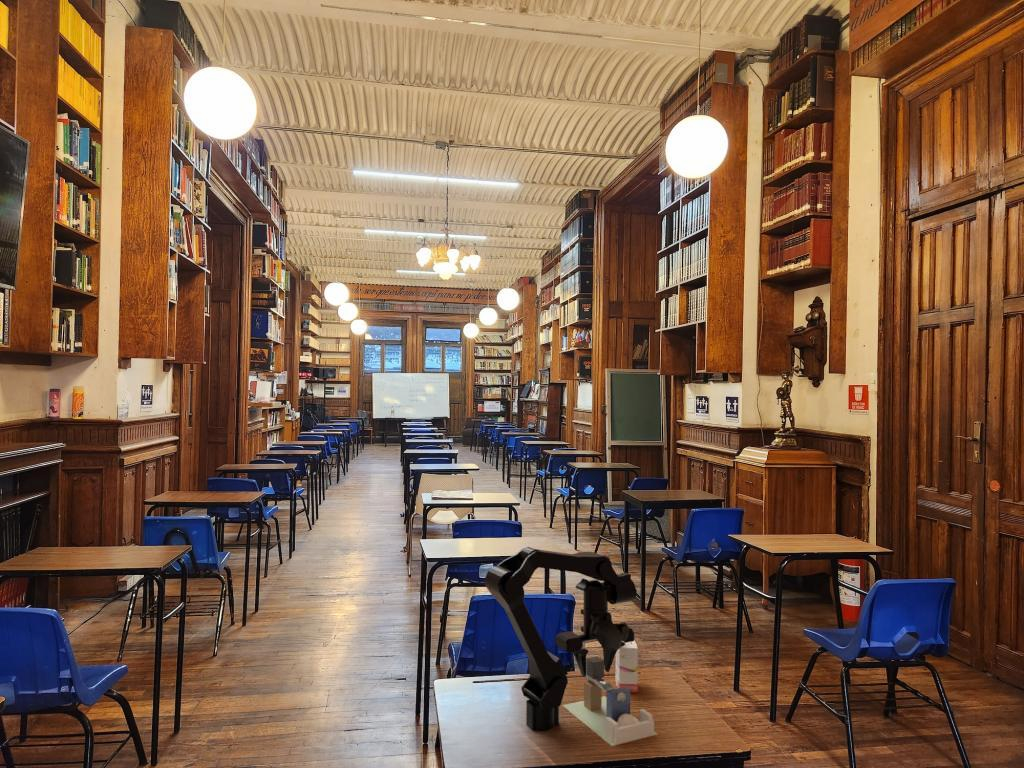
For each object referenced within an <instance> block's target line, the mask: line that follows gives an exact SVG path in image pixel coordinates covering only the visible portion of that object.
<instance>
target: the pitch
mask: <svg viewBox="0 0 1024 768" xmlns="http://www.w3.org/2000/svg"><path fill="white" fill-rule="evenodd" d="M602 691H603V690H602V689H601V688H599V687H598V686H596V685H595V684H594V683H592V682H591V681H589V680H585V681H583V700H581V701H576V702H572V703H571V702H570V703H567V704H561V706H562V707H564V708H565V709H566V710H567V711H568V712H570V713H571V714H572V715H573V716H574V717H576V719H578V720H580V722H582V723H583V724H584V725H585V726H586V727H588V728H589V729H590V730H591V731H593V732H594V733H595V734H596V735H598V736H599V737H600V738H601V739H602V740H604V741H605V742H606V743H607V744H608V745H610V746H611V747H615V746H618V745H619V744H617V745H615V744H614V743H613V742H612V741H610V740H609V739H608V738H607V737H605V718H606V696H605V695H603V696H602V693H603V692H602ZM630 715H631V714H630ZM631 716H632V717H633V718H634V720H635V723H637V722H639V719H638V718H636V717H635V716H633V715H631ZM658 735H659V734H658V733H657V732H656V731H654V735H653V736H658ZM653 736H652V737H653ZM650 737H651V736H649V737H648V738H650ZM645 738H647V737H645ZM645 738H644V739H645ZM641 739H643V738H641ZM641 739H640V740H641ZM637 740H639V739H637ZM637 740H636V741H637ZM634 741H635V740H633V741H632V742H634ZM629 742H631V741H629ZM629 742H628V743H629ZM626 743H627V742H625V743H624V744H626ZM622 744H623V743H621V744H620V745H622Z"/></svg>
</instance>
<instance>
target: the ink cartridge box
mask: <svg viewBox="0 0 1024 768" xmlns="http://www.w3.org/2000/svg"><path fill="white" fill-rule="evenodd" d="M622 642H623V641H622ZM624 643H625V642H624ZM614 672H615V679H614V680H615V684H616V688H617V689H618V688H622V687H626V688H627V689H629V690H630V693H631V692H633V693H636V692H639V677H638V676H639V648H638V645H637V643H636V640H634V641H632V642H627V643H625V645H624V646H622V647H621V648H619V649H618V650H617V652H616V654H615V671H614Z"/></svg>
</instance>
